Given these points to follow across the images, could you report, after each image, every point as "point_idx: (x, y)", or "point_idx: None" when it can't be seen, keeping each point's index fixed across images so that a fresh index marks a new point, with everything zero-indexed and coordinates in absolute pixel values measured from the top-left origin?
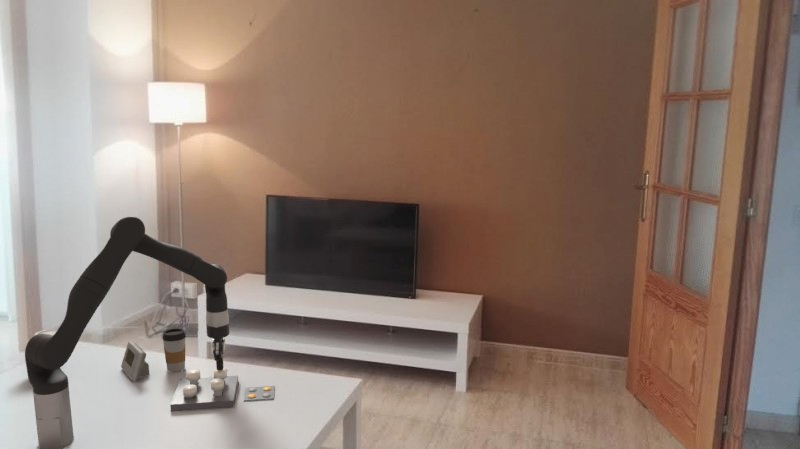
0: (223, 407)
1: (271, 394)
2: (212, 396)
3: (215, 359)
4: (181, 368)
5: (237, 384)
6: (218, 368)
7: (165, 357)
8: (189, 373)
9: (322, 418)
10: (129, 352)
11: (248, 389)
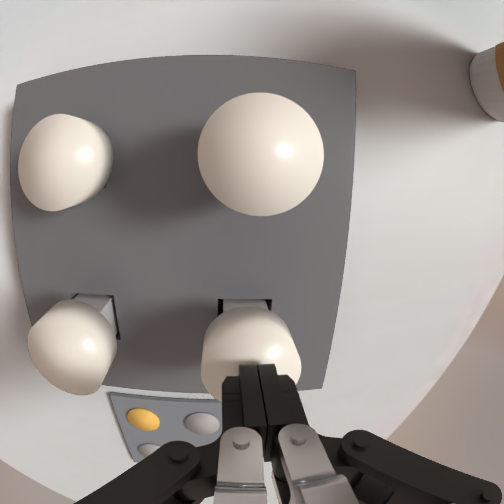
0: None
1: None
2: (70, 290)
3: (148, 461)
4: (486, 102)
5: None
6: (222, 387)
7: None
8: (231, 118)
9: (62, 491)
10: None
11: (211, 412)
